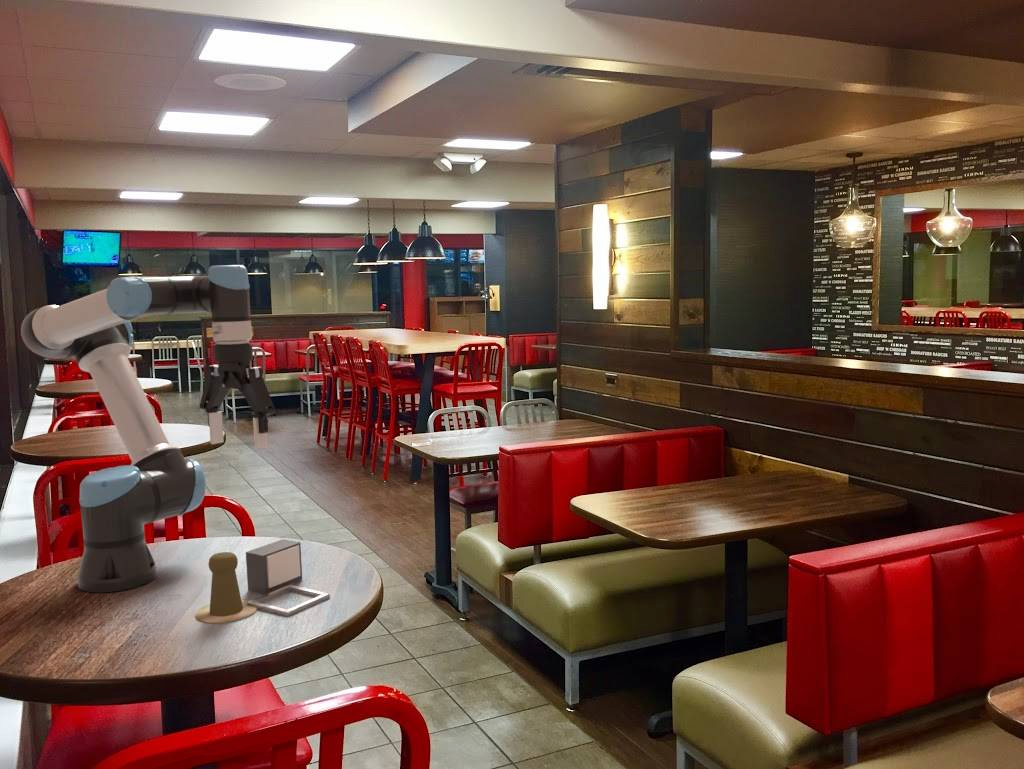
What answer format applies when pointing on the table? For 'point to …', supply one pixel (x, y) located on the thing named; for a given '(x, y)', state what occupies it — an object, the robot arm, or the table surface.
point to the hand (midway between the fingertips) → (238, 446)
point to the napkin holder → (273, 566)
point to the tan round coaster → (206, 617)
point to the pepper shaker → (224, 585)
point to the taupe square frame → (318, 598)
